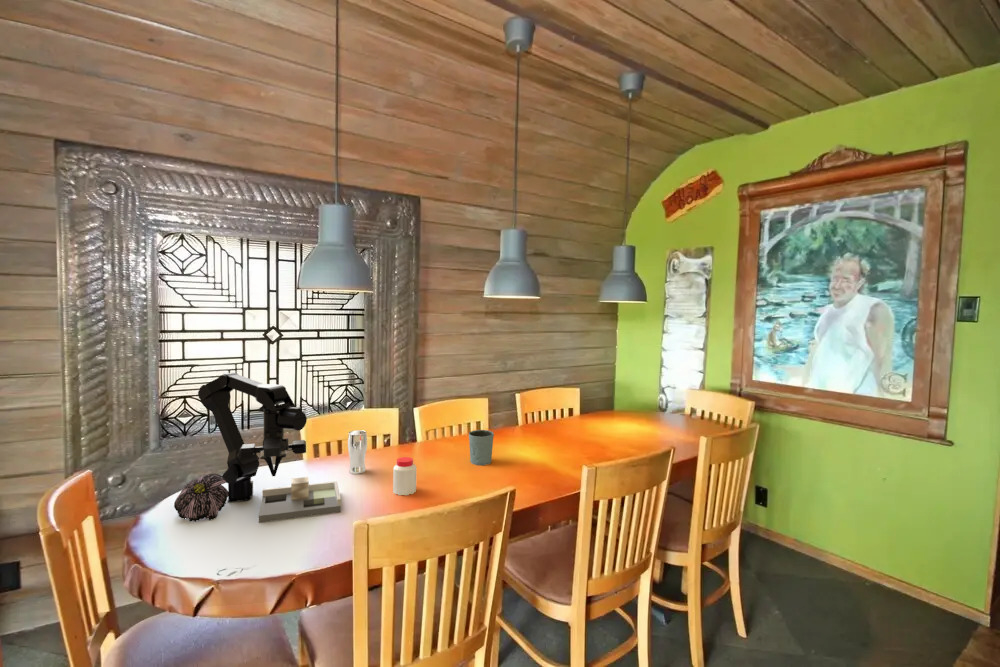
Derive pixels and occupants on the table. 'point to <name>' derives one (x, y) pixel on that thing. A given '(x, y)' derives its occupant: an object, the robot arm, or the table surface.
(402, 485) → the pill bottle
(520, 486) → the table surface
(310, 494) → the trap deck
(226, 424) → the robot arm
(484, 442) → the grey cup
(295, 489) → the ivory block
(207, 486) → the decorative flower
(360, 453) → the beer glass
